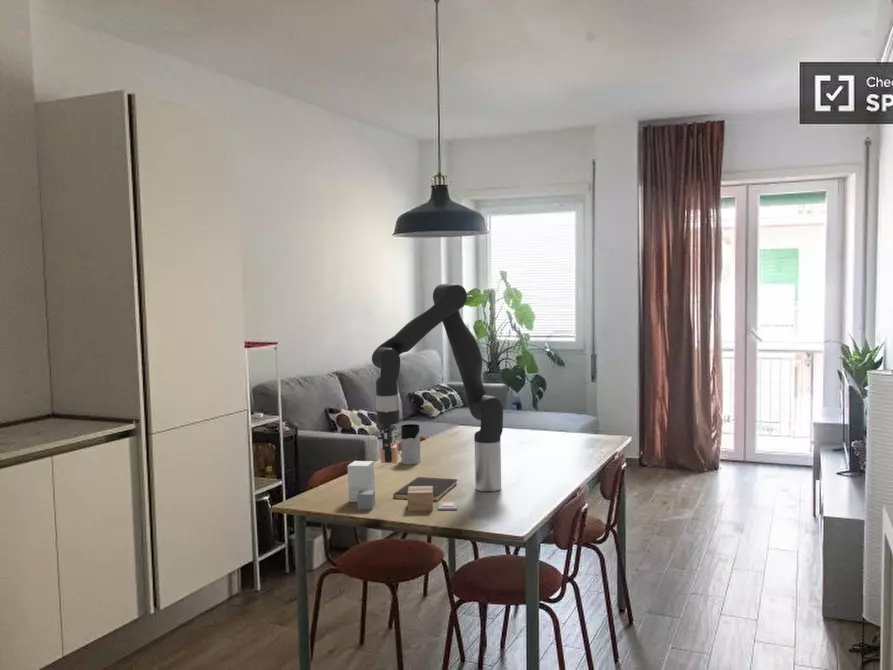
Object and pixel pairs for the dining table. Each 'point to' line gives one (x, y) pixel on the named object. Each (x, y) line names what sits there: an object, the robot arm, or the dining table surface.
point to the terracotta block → (394, 454)
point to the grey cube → (366, 499)
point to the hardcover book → (438, 485)
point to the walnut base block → (420, 498)
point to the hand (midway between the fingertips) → (389, 459)
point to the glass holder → (410, 444)
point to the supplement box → (360, 478)
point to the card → (448, 505)
